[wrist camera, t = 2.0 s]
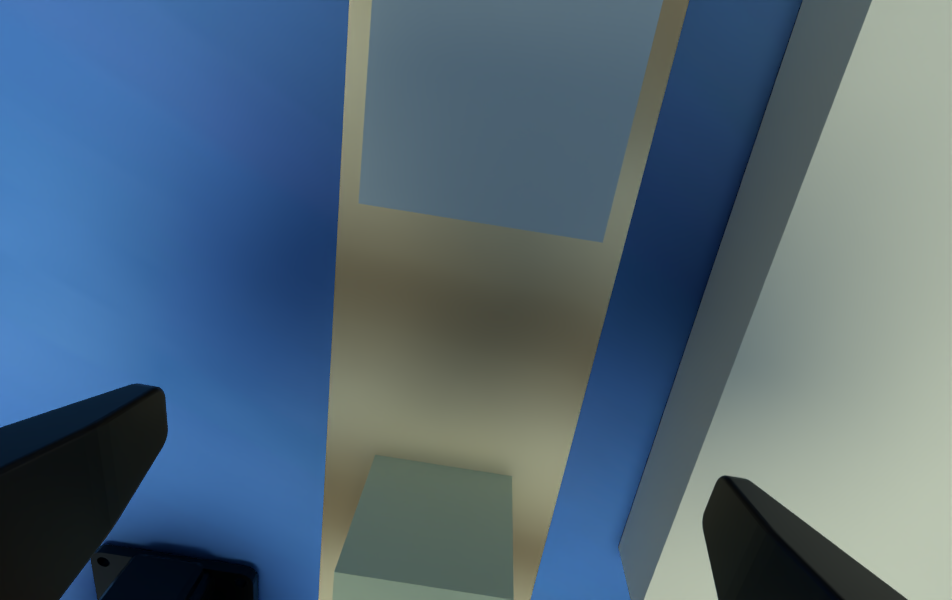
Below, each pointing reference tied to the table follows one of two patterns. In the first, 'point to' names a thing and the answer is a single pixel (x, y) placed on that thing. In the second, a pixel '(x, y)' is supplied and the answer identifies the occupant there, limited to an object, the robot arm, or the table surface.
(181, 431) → the table surface
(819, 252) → the dock
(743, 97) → the table surface
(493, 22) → the blue-grey cube
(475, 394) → the wooden block
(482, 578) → the grey-green cube
